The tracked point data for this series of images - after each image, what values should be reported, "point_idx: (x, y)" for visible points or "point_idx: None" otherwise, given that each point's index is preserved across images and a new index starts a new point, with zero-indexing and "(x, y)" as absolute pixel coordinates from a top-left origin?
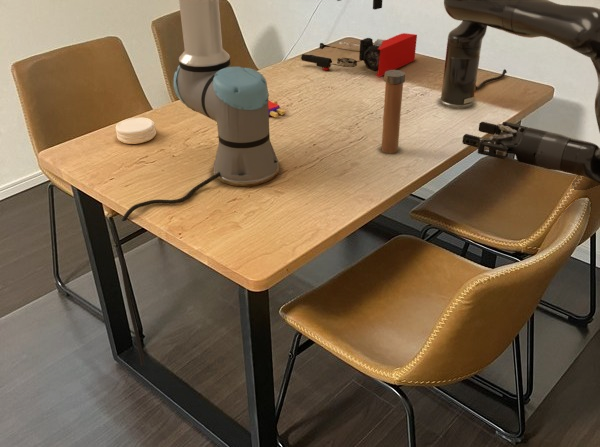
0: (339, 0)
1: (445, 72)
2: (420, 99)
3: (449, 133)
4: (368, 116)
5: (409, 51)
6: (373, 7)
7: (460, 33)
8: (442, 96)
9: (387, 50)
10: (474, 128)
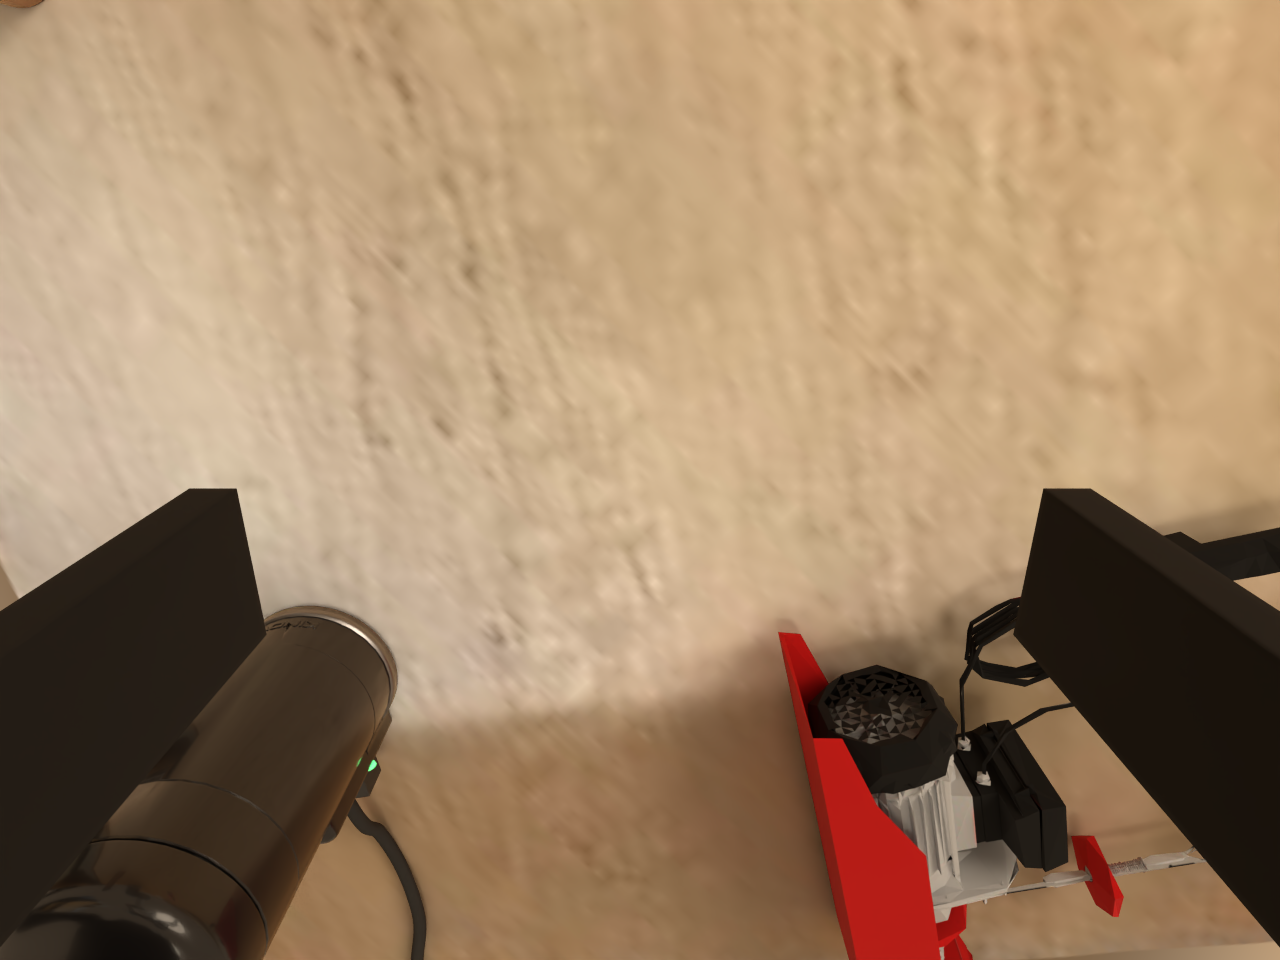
0: (1042, 509)
1: (276, 716)
2: (459, 592)
3: (45, 375)
4: (450, 228)
5: (843, 926)
6: (206, 500)
7: (66, 953)
8: (336, 636)
9: (821, 790)
10: (40, 504)
